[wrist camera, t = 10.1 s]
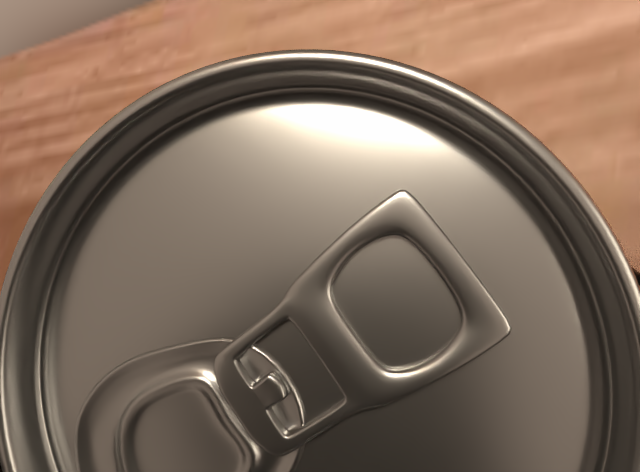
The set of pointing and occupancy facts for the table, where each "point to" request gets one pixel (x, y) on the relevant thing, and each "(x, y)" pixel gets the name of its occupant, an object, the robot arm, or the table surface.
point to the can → (317, 287)
